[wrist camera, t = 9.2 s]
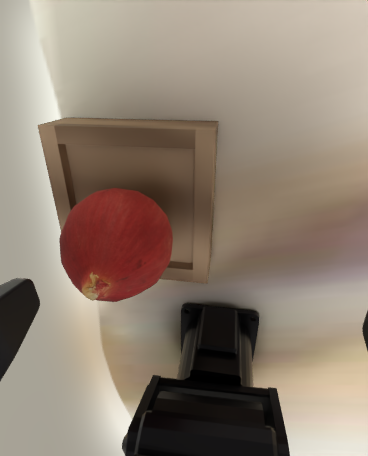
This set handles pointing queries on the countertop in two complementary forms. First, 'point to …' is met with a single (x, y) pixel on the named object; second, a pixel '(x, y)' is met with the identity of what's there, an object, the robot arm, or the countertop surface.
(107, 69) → the countertop surface
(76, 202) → the brown wooden tray
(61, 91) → the countertop surface
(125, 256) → the onion
